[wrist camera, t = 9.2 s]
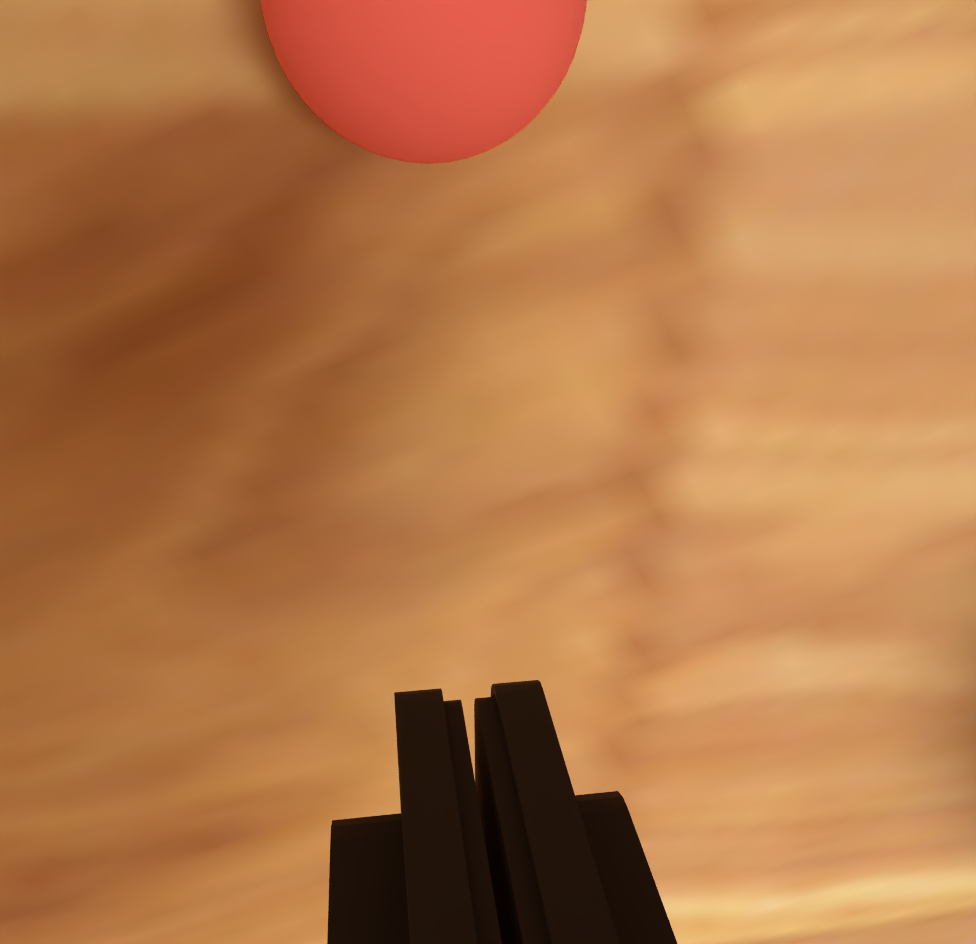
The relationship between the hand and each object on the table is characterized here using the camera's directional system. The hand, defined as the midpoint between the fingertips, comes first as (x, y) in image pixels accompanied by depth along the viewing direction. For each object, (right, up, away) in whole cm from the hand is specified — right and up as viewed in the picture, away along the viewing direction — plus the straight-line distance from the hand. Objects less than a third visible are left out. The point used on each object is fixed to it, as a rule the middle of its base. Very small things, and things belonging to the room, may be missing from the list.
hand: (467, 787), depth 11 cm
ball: (-1, +13, +6) cm, 14 cm away
